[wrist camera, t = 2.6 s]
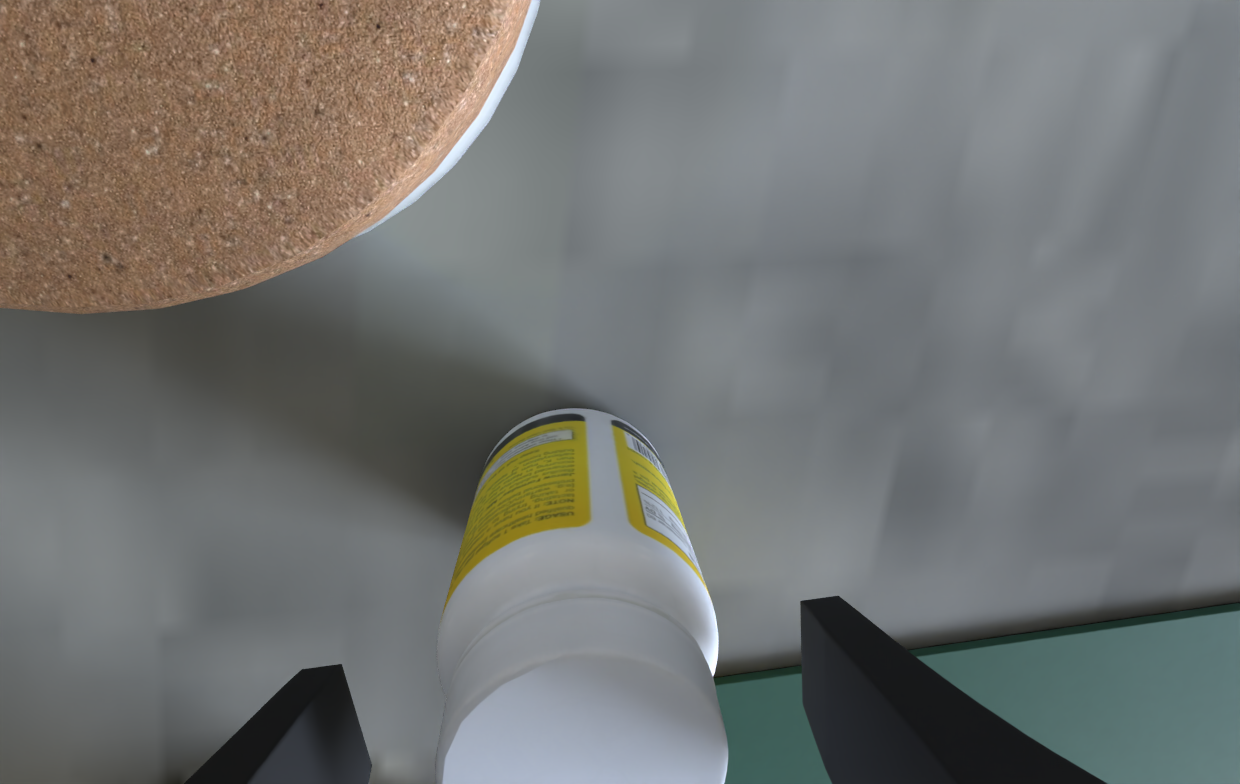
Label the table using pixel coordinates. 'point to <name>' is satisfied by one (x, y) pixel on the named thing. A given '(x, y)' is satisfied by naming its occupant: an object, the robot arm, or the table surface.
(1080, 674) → the green board
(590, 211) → the table surface
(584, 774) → the supplement bottle
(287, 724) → the robot arm
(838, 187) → the table surface
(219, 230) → the trinket box
